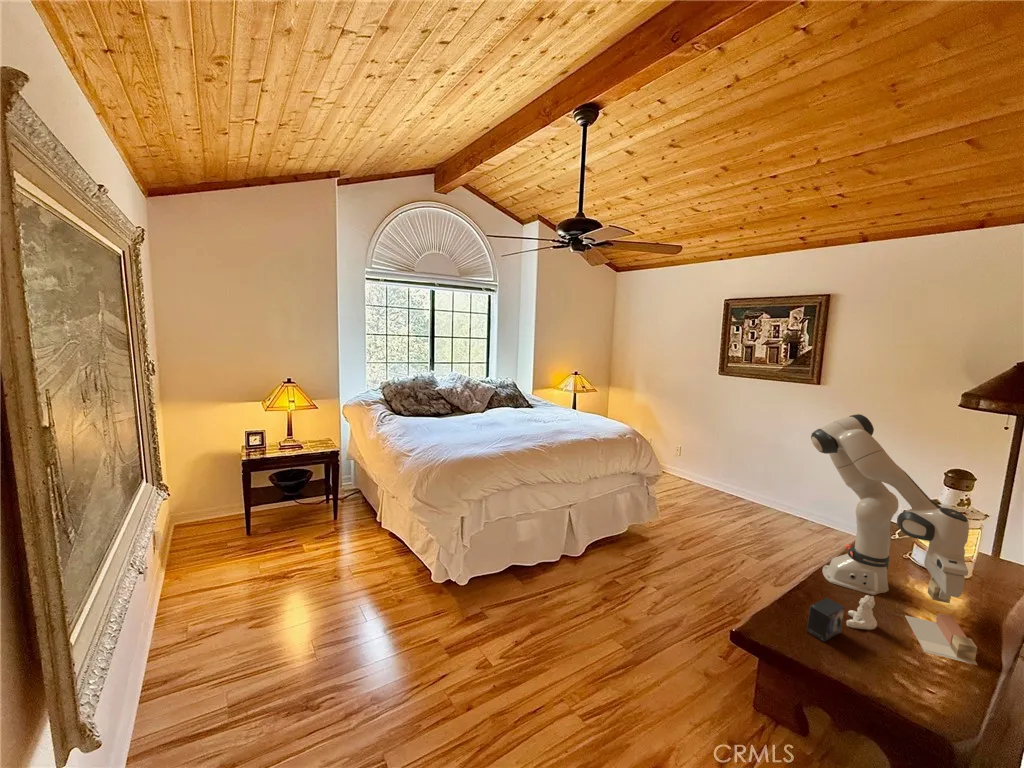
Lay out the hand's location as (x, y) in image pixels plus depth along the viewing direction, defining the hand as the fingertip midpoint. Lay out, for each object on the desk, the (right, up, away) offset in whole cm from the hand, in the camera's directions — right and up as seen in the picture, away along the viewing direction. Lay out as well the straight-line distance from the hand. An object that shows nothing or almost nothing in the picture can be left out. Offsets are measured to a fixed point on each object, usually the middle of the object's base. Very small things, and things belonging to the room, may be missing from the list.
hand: (938, 593), depth 158 cm
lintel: (+7, -16, +3) cm, 18 cm away
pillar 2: (+3, -18, -6) cm, 19 cm away
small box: (-36, -17, +5) cm, 40 cm away
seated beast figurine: (-19, -16, +9) cm, 27 cm away
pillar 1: (0, -2, 0) cm, 2 cm away
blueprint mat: (+2, -17, +2) cm, 17 cm away
